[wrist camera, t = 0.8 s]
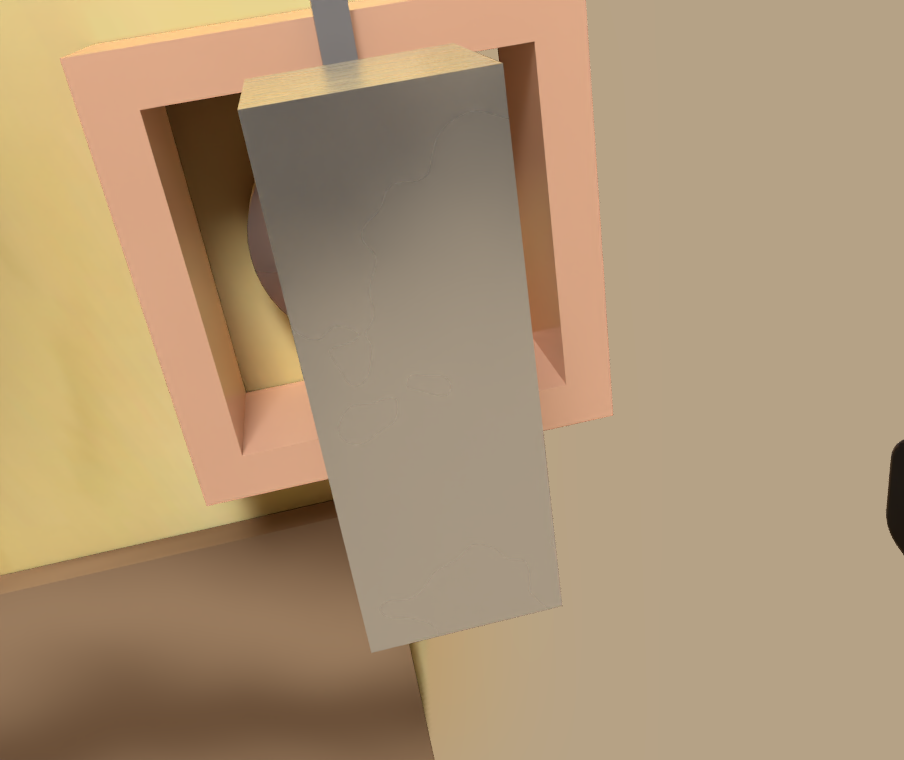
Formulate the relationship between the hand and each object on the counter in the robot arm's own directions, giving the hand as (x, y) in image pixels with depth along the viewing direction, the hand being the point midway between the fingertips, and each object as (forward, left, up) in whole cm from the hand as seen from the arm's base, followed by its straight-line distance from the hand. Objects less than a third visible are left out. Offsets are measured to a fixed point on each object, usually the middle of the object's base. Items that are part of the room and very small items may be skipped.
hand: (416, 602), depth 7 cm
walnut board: (-13, +6, -13) cm, 20 cm away
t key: (0, -1, -13) cm, 13 cm away
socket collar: (0, -1, -13) cm, 13 cm away
